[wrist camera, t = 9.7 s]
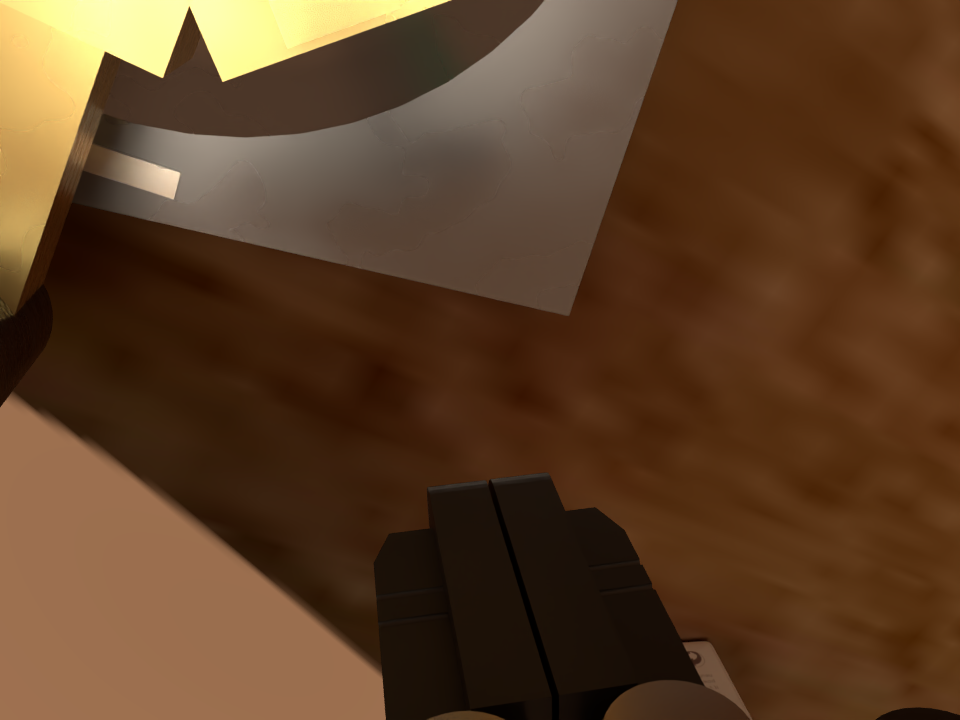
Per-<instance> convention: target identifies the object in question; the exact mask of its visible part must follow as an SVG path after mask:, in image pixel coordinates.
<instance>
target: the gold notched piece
mask: <svg viewBox="0 0 960 720" xmlns="http://www.w3.org/2000/svg"><path fill="white" fill-rule="evenodd" d="M447 1H450V0H0V407H1V406H2V404H3V403H4V402H5V400H6V399H7V398H8V396H9V395H10V394H11V392H12V391H13V390H14V388H15V387H16V386H17V384H18V383H19V382H20V380H21V379H22V378H23V376H24V375H25V374H26V372H27V371H28V370H29V368H30V367H31V366H32V364H33V363H34V362H35V360H36V359H37V358H38V356H39V355H40V354H41V352H42V351H43V349H44V348H45V346H46V344H47V342H48V340H49V337H50V334H51V330H52V322H53V315H52V307H51V301H50V298H49V296H48V293H47V290H46V288H45V286H44V284H43V282H44V280H45V277H46V274H47V271H48V268H49V265H50V262H51V260H52V257H53V254H54V251H55V248H56V245H57V242H58V240H59V237H60V234H61V231H62V228H63V225H64V222H65V219H66V217H67V214H68V211H69V208H70V205H71V202H72V199H73V197H74V194H75V191H76V188H77V185H78V182H79V179H80V177H81V174H82V171H83V168H84V165H85V162H86V159H87V157H88V154H89V151H90V148H91V145H92V142H93V139H94V136H95V134H96V131H97V128H98V125H99V122H100V119H101V116H102V114H103V111H104V108H105V105H106V102H107V99H108V96H109V94H110V91H111V88H112V85H113V82H114V79H115V76H116V74H117V71H118V68H119V65H120V62H121V59H123V60H125V61H127V62H129V63H131V64H134V65H136V66H138V67H140V68H142V69H144V70H146V71H149V72H151V73H153V74H155V75H157V76H159V77H162V78H164V77H165V76H166V75H168V74H169V73H171V72H172V71H174V70H175V69H177V68H178V67H180V66H181V65H183V64H184V63H186V62H187V61H189V60H190V59H192V58H193V55H194V53H195V50H196V47H197V45H198V42H199V39H200V37H201V34H202V36H203V38H204V40H205V43H206V45H207V47H208V50H209V52H210V54H211V56H212V59H213V61H214V63H215V66H216V68H217V70H218V73H219V75H220V77H221V79H222V82H224V81H226V80H229V79H232V78H235V77H238V76H240V75H243V74H246V73H249V72H252V71H254V70H257V69H260V68H263V67H266V66H268V65H271V64H274V63H277V62H280V61H282V60H285V59H288V58H291V57H294V56H296V55H299V54H302V53H305V52H308V51H310V50H313V49H316V48H319V47H322V46H324V45H327V44H330V43H333V42H336V41H338V40H341V39H344V38H347V37H349V36H352V35H355V34H358V33H361V32H363V31H366V30H369V29H372V28H375V27H377V26H380V25H383V24H386V23H389V22H391V21H394V20H397V19H400V18H403V17H405V16H408V15H411V14H414V13H417V12H419V11H422V10H425V9H428V8H431V7H433V6H436V5H439V4H442V3H445V2H447Z"/></svg>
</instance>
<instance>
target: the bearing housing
mask: <svg viewBox="0 0 960 720" xmlns="http://www.w3.org/2000/svg"><path fill="white" fill-rule="evenodd" d="M676 3H677V0H450V1H447V2H445V3H442V4H439V5H436V6H433V7H431V8H428V9H425V10H422V11H419V12H417V13H414V14H411V15H408V16H405V17H403V18H400V19H397V20H394V21H391V22H389V23H386V24H383V25H380V26H377V27H375V28H372V29H369V30H366V31H363V32H361V33H358V34H355V35H352V36H349V37H347V38H344V39H341V40H338V41H336V42H333V43H330V44H327V45H324V46H322V47H319V48H316V49H313V50H310V51H308V52H305V53H302V54H299V55H296V56H294V57H291V58H288V59H285V60H282V61H280V62H277V63H274V64H271V65H268V66H266V67H263V68H260V69H257V70H254V71H252V72H249V73H246V74H243V75H240V76H238V77H235V78H232V79H229V80H226V81H224V82H222V79H221V77H220V75H219V73H218V70H217V68H216V66H215V63H214V61H213V59H212V56H211V54H210V52H209V50H208V47H207V45H206V43H205V40H204V38H203V36H202V34H201V37H200V39H199V42H198V45H197V47H196V50H195V53H194V55H193V58H192V59H190V60H189V61H187V62H186V63H184V64H183V65H181V66H180V67H178V68H177V69H175V70H174V71H172V72H171V73H169V74H168V75H166V76H165V77H164V78H162V77H159V76H157V75H155V74H153V73H151V72H149V71H146V70H144V69H142V68H140V67H138V66H136V65H134V64H131V63H129V62H127V61H125V60H123V59H121V62H120V65H119V68H118V71H117V74H116V76H115V79H114V82H113V85H112V88H111V91H110V94H109V96H108V99H107V102H106V105H105V108H104V111H103V114H102V116H101V119H100V122H99V125H98V128H97V131H96V134H95V136H94V139H93V142H92V145H91V148H90V151H89V154H88V157H87V159H86V162H85V165H84V168H83V171H82V174H81V177H80V179H79V182H78V185H77V188H76V191H75V194H74V197H73V199H72V202H71V203H76V204H80V205H84V206H89V207H93V208H98V209H102V210H106V211H111V212H115V213H120V214H124V215H128V216H133V217H137V218H141V219H146V220H150V221H155V222H159V223H163V224H168V225H172V226H176V227H181V228H185V229H190V230H194V231H198V232H203V233H207V234H211V235H216V236H220V237H225V238H229V239H233V240H238V241H242V242H247V243H251V244H255V245H260V246H264V247H268V248H273V249H277V250H282V251H286V252H290V253H295V254H299V255H303V256H308V257H312V258H317V259H321V260H325V261H330V262H334V263H338V264H343V265H347V266H352V267H356V268H360V269H365V270H369V271H374V272H378V273H382V274H387V275H391V276H395V277H400V278H404V279H409V280H413V281H417V282H422V283H426V284H430V285H435V286H439V287H444V288H448V289H452V290H457V291H461V292H465V293H470V294H474V295H479V296H483V297H487V298H492V299H496V300H501V301H505V302H509V303H514V304H518V305H522V306H527V307H531V308H536V309H540V310H544V311H549V312H553V313H557V314H562V315H566V316H569V314H570V311H571V308H572V305H573V302H574V299H575V297H576V294H577V291H578V288H579V285H580V282H581V279H582V276H583V273H584V270H585V268H586V265H587V262H588V259H589V256H590V253H591V250H592V247H593V244H594V241H595V239H596V236H597V233H598V230H599V227H600V224H601V221H602V218H603V215H604V212H605V210H606V207H607V204H608V201H609V198H610V195H611V192H612V189H613V186H614V183H615V180H616V178H617V175H618V172H619V169H620V166H621V163H622V160H623V157H624V154H625V151H626V149H627V146H628V143H629V140H630V137H631V134H632V131H633V128H634V125H635V122H636V120H637V117H638V114H639V111H640V108H641V105H642V102H643V99H644V96H645V93H646V90H647V88H648V85H649V82H650V79H651V76H652V73H653V70H654V67H655V64H656V61H657V59H658V56H659V53H660V50H661V47H662V44H663V41H664V38H665V35H666V32H667V30H668V27H669V24H670V21H671V18H672V15H673V12H674V9H675V6H676Z"/></svg>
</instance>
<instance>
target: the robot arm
mask: <svg viewBox="0 0 960 720" xmlns="http://www.w3.org/2000/svg"><path fill="white" fill-rule="evenodd" d="M427 501H428V514H429V526H430V529H423V530H415V531H407V532H399V533H391V534H389V535H388V537H387V539H386V541H385V543H384V545H383V546H382V548H381V550H380V552H379V554H378V556H377V558H376V560H375V562H374V573H375V585H376V597H377V611H378V623H379V637H380V649H381V662H382V675H383V688H384V699H385V700H384V701H385V713H386V720H750V719H749V717H748V716H747V715H746V714H745V712H744V711H743V710H742V709H740V708H739V707H738V706H737V705H736V704H735V703H734V702H732V701H731V700H730V699H728V698H727V697H725V696H724V695H722V694H720V693H718V692H716V691H714V690H712V689H710V688H707V687H706V686H705V685H704V683H703V682H702V680H701V678H700V676H699V674H698V672H697V670H696V668H695V666H694V664H693V662H692V660H691V658H690V656H689V654H688V653H687V651H686V649H685V647H684V645H683V643H682V641H681V639H680V637H679V635H678V633H677V631H676V629H675V627H674V625H673V623H672V621H671V619H670V618H669V616H668V614H667V612H666V610H665V608H664V606H663V604H662V602H661V600H660V598H659V596H658V594H657V592H656V590H655V589H654V590H653V588H652V583H651V581H650V579H649V577H648V575H647V573H646V571H645V569H644V567H643V565H640V561H639V557H638V555H637V553H636V552H635V550H634V548H633V546H632V544H631V542H630V540H629V538H628V536H627V534H626V532H625V530H624V529H622V528H621V527H620V526H619V525H617V524H616V523H615V522H613V521H612V520H611V519H610V518H608V517H607V516H606V515H604V514H603V513H602V512H601V511H599V510H598V509H597V508H595V507H594V508H586V509H578V510H570V511H565V510H564V507H563V505H562V503H561V500H560V498H559V496H558V493H557V491H556V488H555V486H554V484H553V481H552V479H551V477H550V475H549V474H548V473H539V474H531V475H523V476H514V477H506V478H498V479H490V480H489V483H488V484H487V482H486V481H485V480H483V481H475V482H467V483H459V484H450V485H442V486H434V487H427ZM876 720H960V715H957V714H954V713H950V712H947V711H942V710H937V709H932V708H903V709H899V710H894V711H891V712H889V713H886V714H884V715H882V716H880V717H879V718H877V719H876Z"/></svg>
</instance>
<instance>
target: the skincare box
mask: <svg viewBox="0 0 960 720" xmlns="http://www.w3.org/2000/svg"><path fill="white" fill-rule="evenodd" d="M682 643H683V645H684V647H685V649H686V651H687V653H688V654H689V656H690V658H691V660H692V662H693V664H694V666H695V668H696V670H697V672H698V674H699V676H700V678H701V680H702V682H703V683H704V685H705V686H706V687H707V688H710V689H712V690H714V691H716V692H718V693H720V694H722V695H724V696H725V697H727V698H728V699H730V700H731V701H732V702H734V703H735V704H736V705H737V706H738V707H739V708H740V709H742V710H743V711H744V712H745V714H746V715H747V716H748V717H749V719H750V720H752V718H751V716H750V714H749V713H748V711H747V709H746V707H745V705H744V703H743V701H742V700H741V698H740V696H739V694H738V692H737V690H736V688H735V687H734V685H733V683H732V681H731V679H730V677H729V675H728V673H727V672H726V670H725V668H724V666H723V664H722V662H721V660H720V659H719V657H718V655H717V653H716V651H715V649H714V647H713V646H712V644H711V643H709V642H707V641H698V642H682Z"/></svg>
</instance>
